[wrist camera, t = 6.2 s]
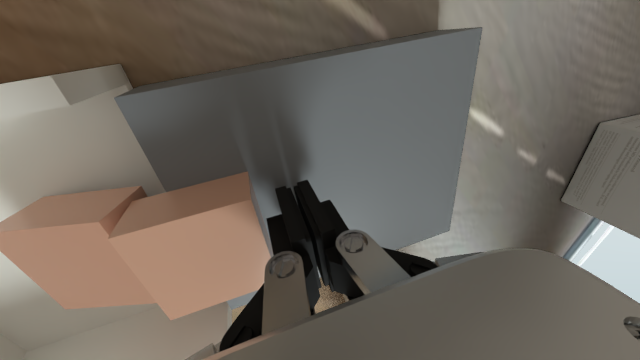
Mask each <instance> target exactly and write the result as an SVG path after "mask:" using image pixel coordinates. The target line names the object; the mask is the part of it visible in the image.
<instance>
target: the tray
mask: <svg viewBox="0 0 640 360" xmlns="http://www.w3.org/2000/svg"><path fill="white" fill-rule="evenodd" d="M132 89H133V87H132V85H131V83H130V81H129V79H128V77H127V75H126V73H125V71H124V69H123V68H122V66H121V64H115V65H109V66H103V67H97V68H91V69H86V70H80V71H74V72H68V73H62V74H56V75H50V76H44V77H38V78H32V79H26V80H20V81H15V82H9V83H3V84H0V222H1V221H3V220H5V219H6V218H8V217H10V216H12V215H13V214H15V213H17V212H18V211H20V210H22V209H23V208H25V207H27V206H28V205H30V204H32V203H33V202H35V201H37V200H39V199H40V198H42V197H45V196H54V195H63V194H72V193H81V192H90V191H99V190H108V189H117V188H126V187H134V186H142V188H143V190H144V191H145V193H146V195H147V196H148V197H150V196H154V195H158V194H161V193H165V192H166V191H165V189H164V188H163V186H162V184H161V182H160V180H159V179H158V177H157V175H156V173H155V171H154V170H153V168H152V166H151V164H150V162H149V161H148V159H147V157H146V155H145V153H144V152H143V150H142V148H141V146H140V144H139V143H138V141H137V139H136V137H135V135H134V134H133V132H132V130H131V128H130V126H129V125H128V123H127V121H126V119H125V117H124V116H123V114H122V112H121V110H120V108H119V107H118V105H117V103H116V101H115V99H114V97H117V96H119V95H121V94H123V93H125V92H128V91H130V90H132ZM231 325H232V310H231V308H230V307H229V305H228V303H227V301H225V302H222V303H219V304H216V305H214V306H211V307H208V308H205V309H202V310H199V311H196V312H193V313H191V314H188V315H185V316H182V317H179V318H176V319H173V320H170V319H169V318H168V317H167V315H166V314H165V313H164V311H163V310H162V309H161V308H160V306H159V305H158V304H157V303H154V304H139V305H124V306H109V307H94V308H79V309H64V308H63V307H62V306H61V305H60V304H59V303H57V302H56V301H55V300H54V299H53V298H52V297H51V296H50V295H49V294H47V293H46V292H45V291H44V290H43V289H42V288H41V287H40V286H38V285H37V284H36V283H35V282H34V281H33V280H32V279H31V278H30V277H28V276H27V275H26V274H25V273H24V272H23V271H22V270H21V269H19V268H18V267H17V266H16V265H15V264H14V263H13V262H12V261H11V260H9V259H8V258H7V257H6V256H5V255H4V254H3V253H2V252H0V360H185V359H187V358H188V357H190V356H192V355H193V354H195V353H196V352H198V351H200V350H201V349H203V348H205V347H206V346H208V345H210V344H211V343H213V345H216V344H217V343H219V342H221V341H222V338H223V336H224V335H225V333H226V332H227V330H228V329H229V328H230V326H231Z"/></svg>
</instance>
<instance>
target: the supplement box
mask: <svg viewBox="0 0 640 360" xmlns="http://www.w3.org/2000/svg"><path fill="white" fill-rule="evenodd" d="M561 201H562V202H564V203H566V204H568V205H570V206H572V207H575V208H577V209H579V210H581V211H583V212H585V213H587V214H589V215H591V216H593V217H596V218H598V219H600V220H602V221H604V222H606V223H608V224H610V225H612V226H615V227H617V228H619V229H621V230H623V231H625V232H627V233H629V234H631V235H634V236H636V237H638V238H640V114H639V115H634V116H630V117H625V118H620V119H616V120H611V121H606V122H602V123H600V124H599V126H598V128H597V130H596V132H595V134H594V136H593V138H592V140H591V142H590V144H589V146H588V148H587V150H586V152H585V154H584V156H583V158H582V160H581V162H580V164H579V166H578V168H577V170H576V172H575V174H574V176H573V178H572V180H571V182H570V184H569V186H568V188H567V190H566V192H565V194H564V195H563V197H562V199H561Z"/></svg>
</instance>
